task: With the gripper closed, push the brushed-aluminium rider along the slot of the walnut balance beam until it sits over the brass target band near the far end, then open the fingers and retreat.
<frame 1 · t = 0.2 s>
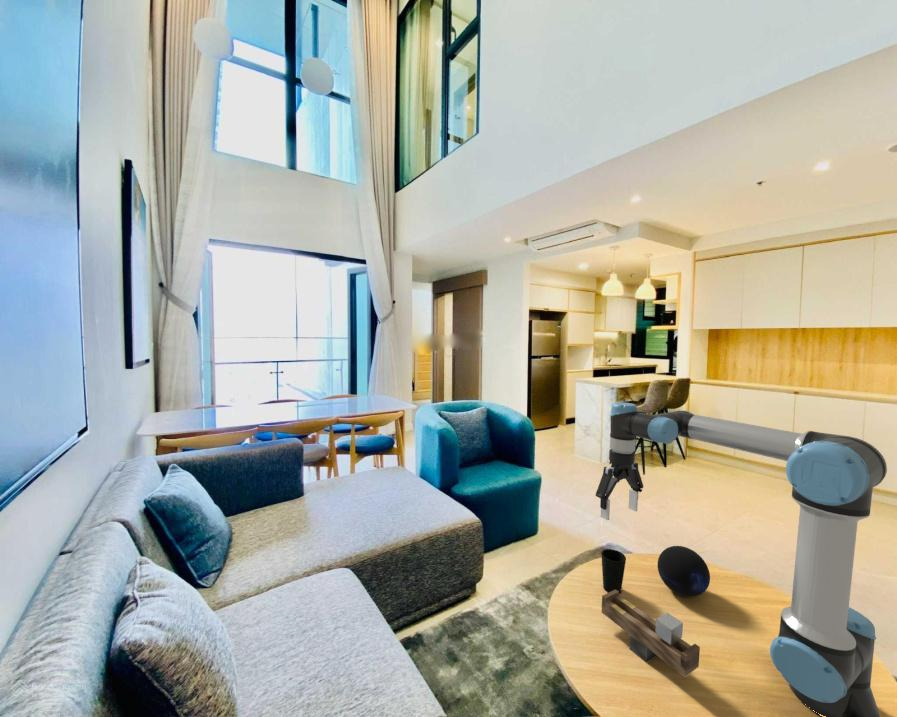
hand: (619, 513, 123), 28 cm above the table, fingers open, 13 cm apart
rider: (668, 633, 97), point 10 cm above the table, slide at -6.0 cm
cup: (612, 589, 128), on the table
beam: (645, 651, 103), on the table
decorative sphere: (681, 592, 127), on the table
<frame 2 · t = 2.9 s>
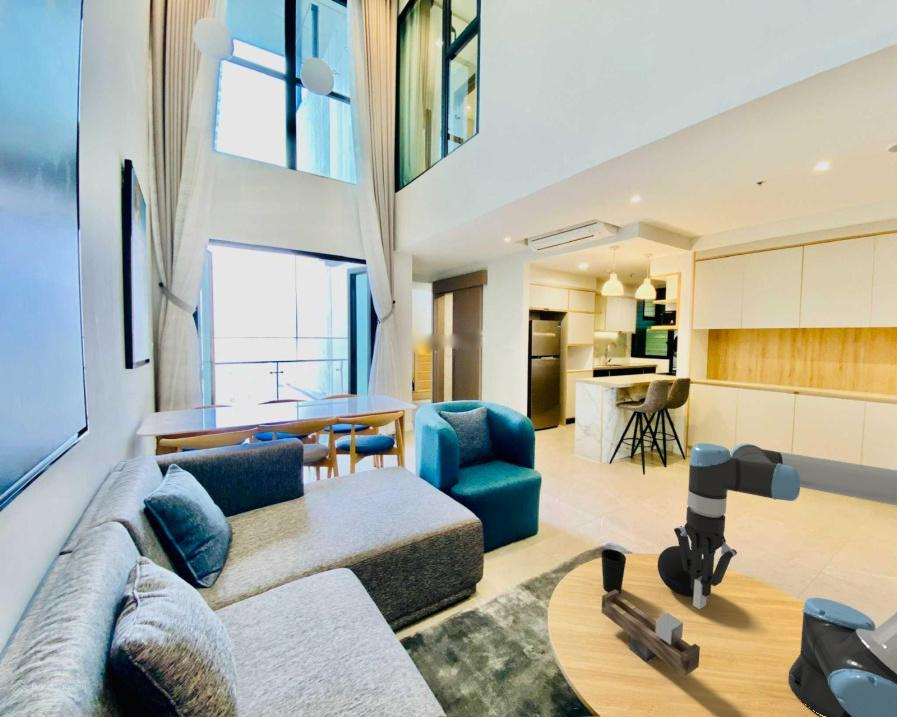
hand: (699, 605, 90), 22 cm above the table, fingers closed
nothing on the table moved.
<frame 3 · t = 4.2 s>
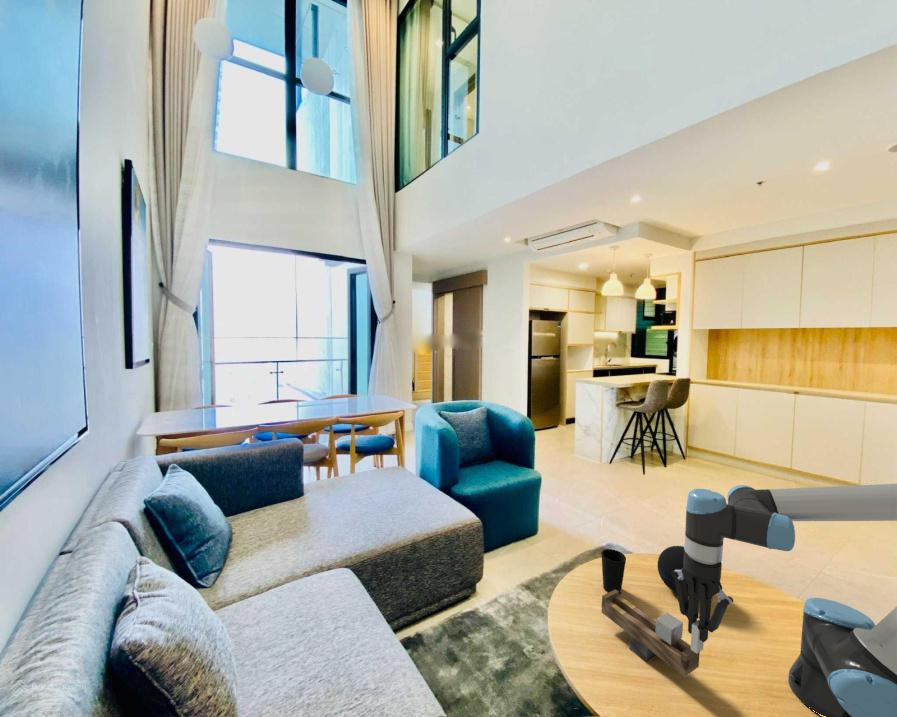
hand: (696, 649, 91), 10 cm above the table, fingers closed
nothing on the table moved.
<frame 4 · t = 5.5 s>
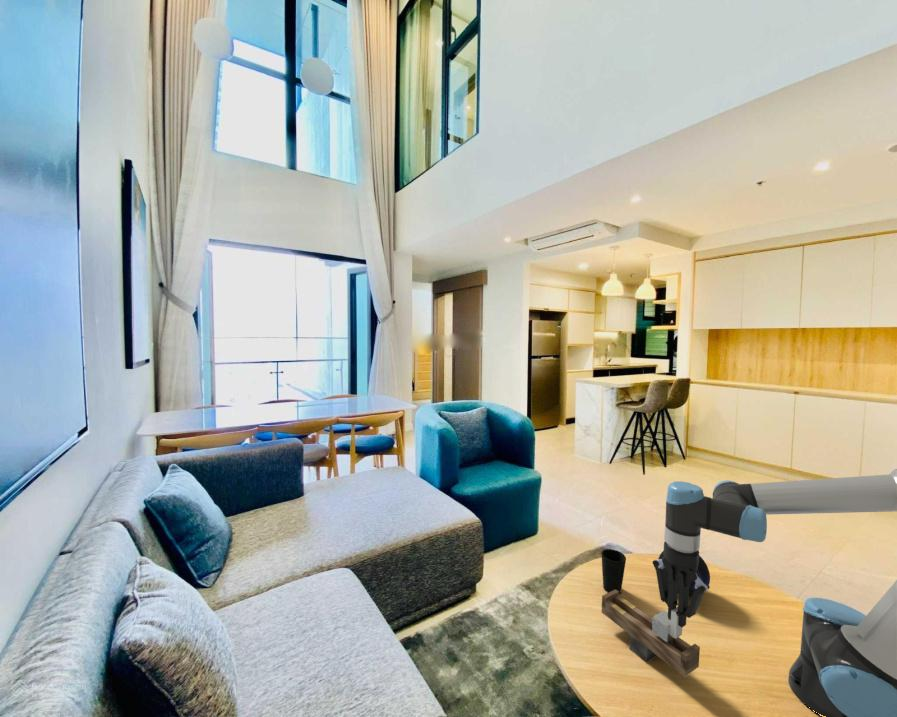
hand: (675, 634, 95), 11 cm above the table, fingers closed
rider: (665, 630, 98), point 10 cm above the table, slide at -5.1 cm, touching gripper
everything else where it was.
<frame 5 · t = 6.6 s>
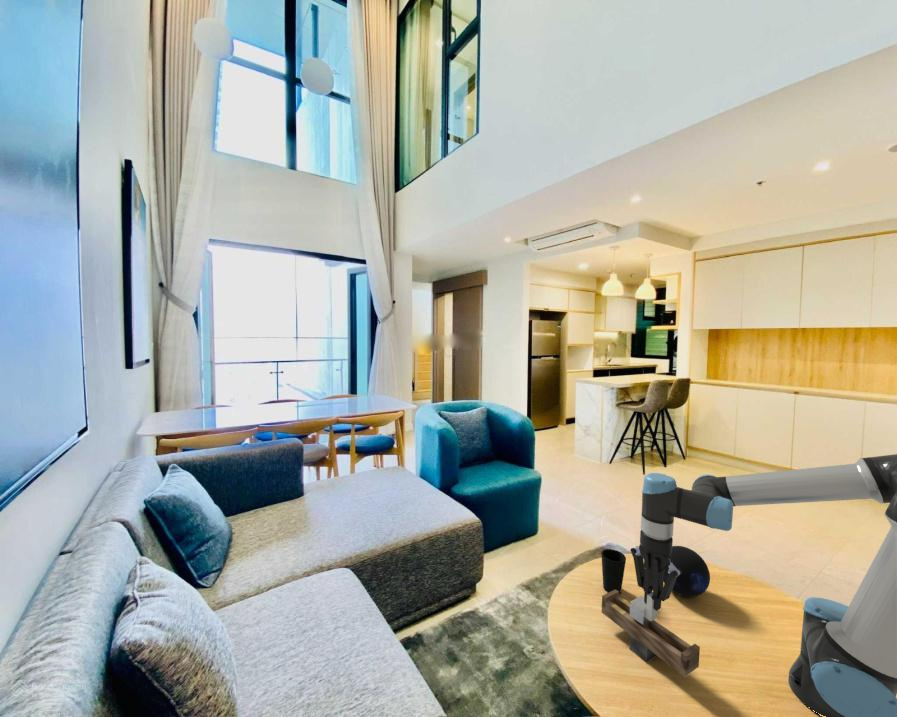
hand: (651, 617, 101), 11 cm above the table, fingers closed
rider: (642, 614, 104), point 10 cm above the table, slide at 1.4 cm, touching gripper
everything else where it was.
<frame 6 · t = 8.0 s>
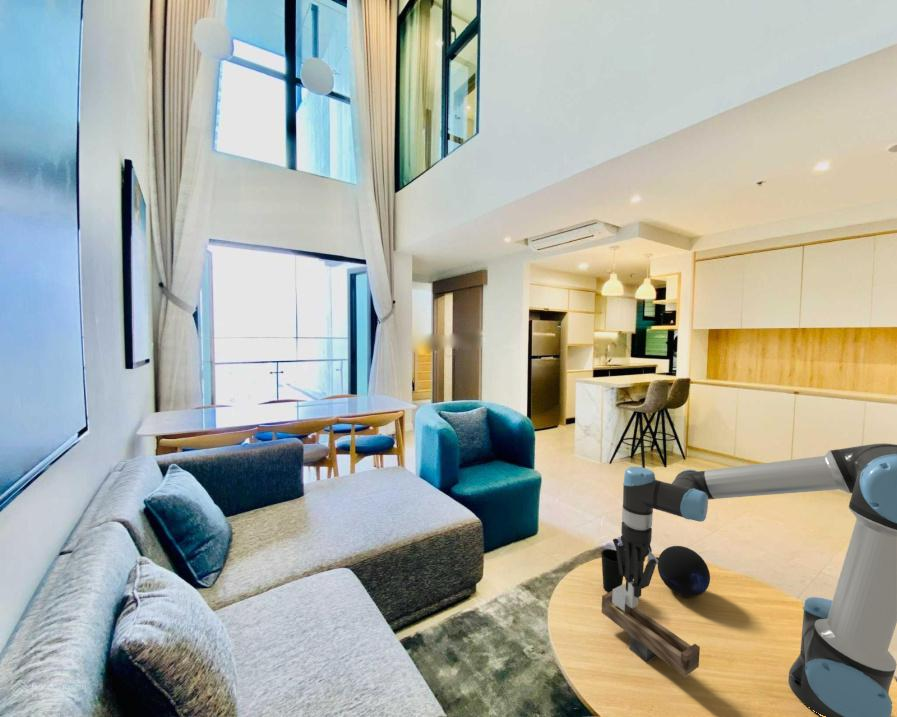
hand: (632, 604, 106), 10 cm above the table, fingers closed
rider: (623, 601, 108), point 10 cm above the table, slide at 7.0 cm, touching gripper
everything else where it was.
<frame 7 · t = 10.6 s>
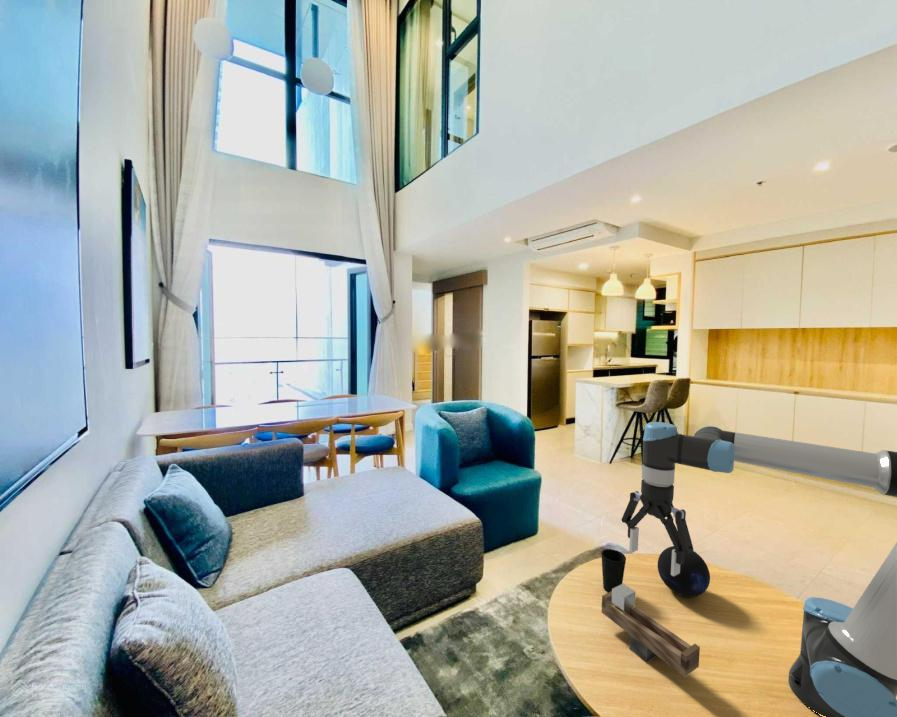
hand: (653, 561, 100), 26 cm above the table, fingers open, 11 cm apart
rider: (623, 601, 109), point 10 cm above the table, slide at 7.2 cm
everything else where it was.
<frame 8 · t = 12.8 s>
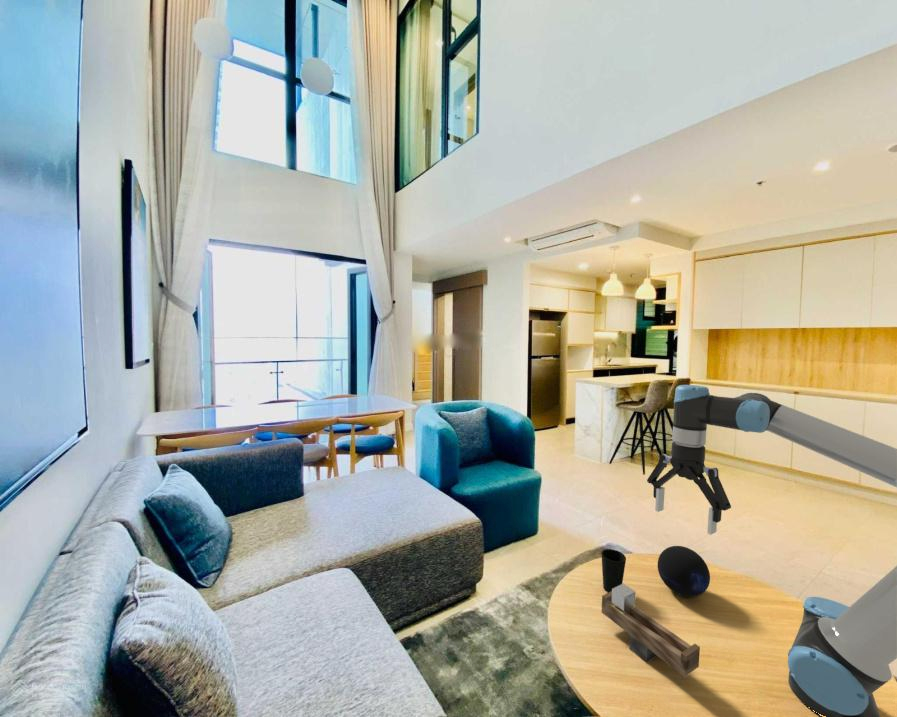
hand: (684, 521, 101), 37 cm above the table, fingers open, 13 cm apart
nothing on the table moved.
at the end: rider slide at 7.2 cm; the gripper is holding nothing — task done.
